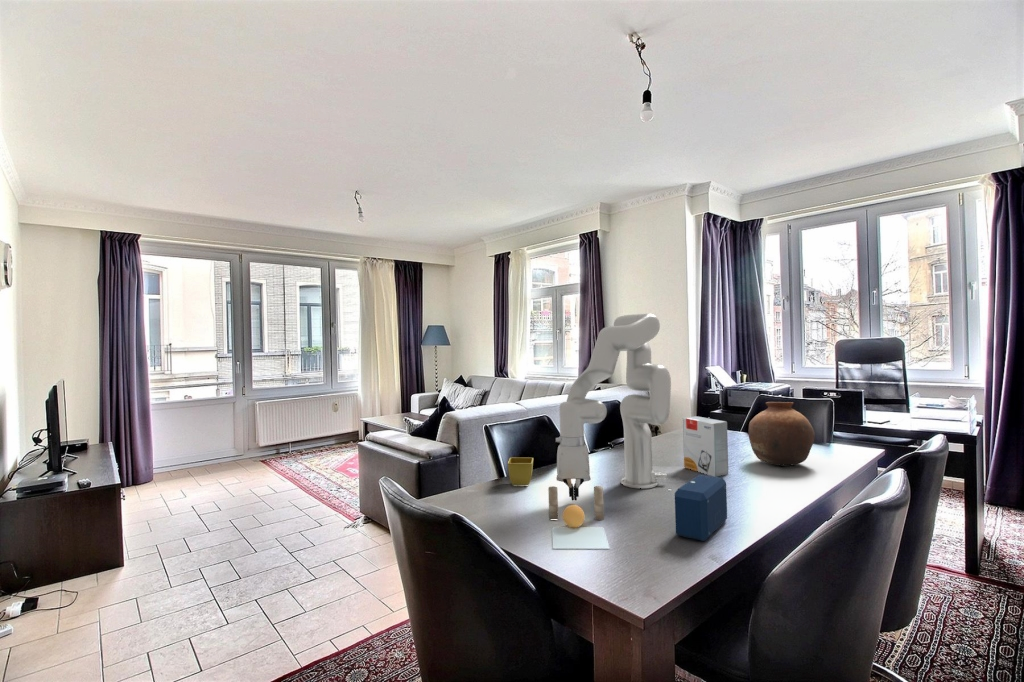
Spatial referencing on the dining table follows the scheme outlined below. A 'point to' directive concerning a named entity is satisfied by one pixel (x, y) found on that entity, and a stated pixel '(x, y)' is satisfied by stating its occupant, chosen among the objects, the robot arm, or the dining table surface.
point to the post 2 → (598, 503)
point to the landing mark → (579, 538)
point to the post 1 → (553, 502)
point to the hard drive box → (705, 445)
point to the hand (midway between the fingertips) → (574, 499)
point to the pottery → (781, 435)
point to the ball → (573, 516)
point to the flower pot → (520, 470)
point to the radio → (700, 507)
